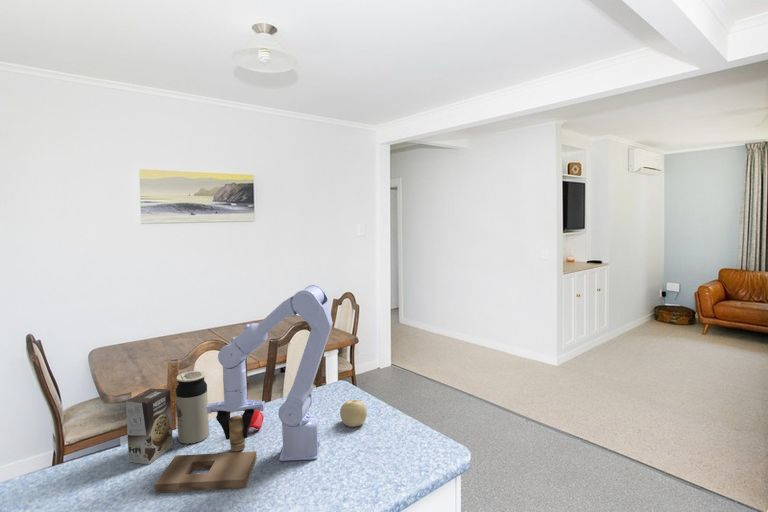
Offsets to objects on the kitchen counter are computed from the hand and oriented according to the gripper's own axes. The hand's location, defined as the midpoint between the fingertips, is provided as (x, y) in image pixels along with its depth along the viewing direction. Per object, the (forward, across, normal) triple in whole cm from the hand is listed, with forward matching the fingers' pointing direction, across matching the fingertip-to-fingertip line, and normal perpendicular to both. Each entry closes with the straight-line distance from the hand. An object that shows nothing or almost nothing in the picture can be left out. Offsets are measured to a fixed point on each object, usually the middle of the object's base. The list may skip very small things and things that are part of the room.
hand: (237, 437), depth 116 cm
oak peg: (+3, 0, 0) cm, 3 cm away
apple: (+4, -31, -12) cm, 33 cm away
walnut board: (+3, +4, +11) cm, 12 cm away
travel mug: (+4, +14, -8) cm, 17 cm away
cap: (+4, -1, -11) cm, 12 cm away
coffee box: (+4, +22, 0) cm, 22 cm away
